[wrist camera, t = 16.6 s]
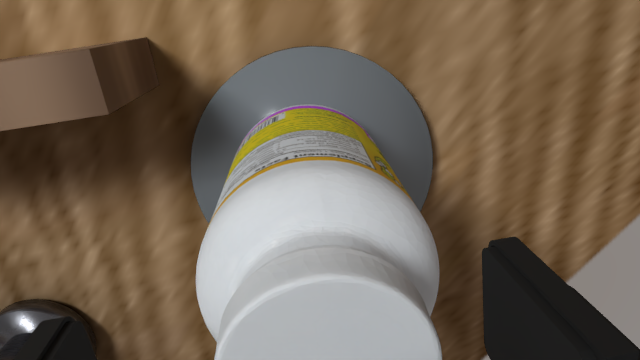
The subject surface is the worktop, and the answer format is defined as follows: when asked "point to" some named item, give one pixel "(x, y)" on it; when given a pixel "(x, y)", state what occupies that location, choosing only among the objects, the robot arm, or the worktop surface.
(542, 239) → the worktop surface
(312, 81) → the coaster
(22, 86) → the wooden plank block
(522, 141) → the worktop surface
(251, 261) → the supplement bottle
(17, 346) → the lever
